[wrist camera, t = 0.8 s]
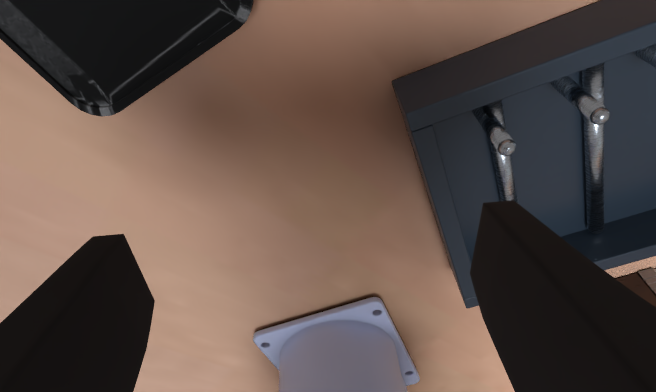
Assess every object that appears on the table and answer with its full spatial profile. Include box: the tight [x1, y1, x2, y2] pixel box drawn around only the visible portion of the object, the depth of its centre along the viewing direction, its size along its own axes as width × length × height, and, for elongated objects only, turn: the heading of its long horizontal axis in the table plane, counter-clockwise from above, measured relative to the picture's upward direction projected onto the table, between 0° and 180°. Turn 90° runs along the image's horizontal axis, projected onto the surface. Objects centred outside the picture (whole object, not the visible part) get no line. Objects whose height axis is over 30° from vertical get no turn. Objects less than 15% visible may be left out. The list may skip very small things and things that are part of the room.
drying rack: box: [392, 0, 656, 308], centre depth 18 cm, size 12×18×4 cm, turn 111°
